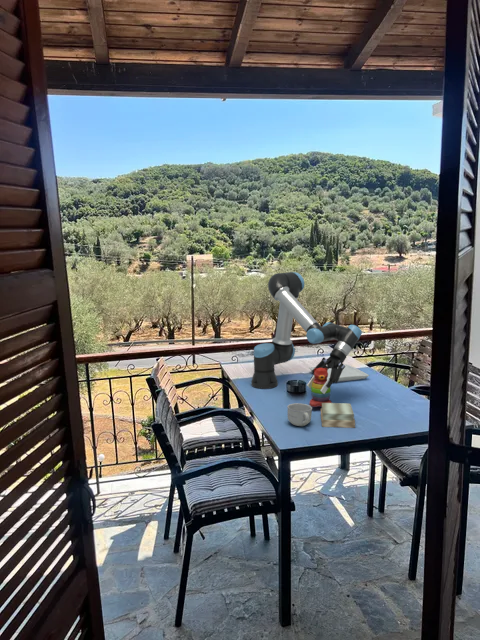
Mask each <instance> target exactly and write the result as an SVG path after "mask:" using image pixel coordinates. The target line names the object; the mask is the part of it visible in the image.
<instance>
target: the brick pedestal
mask: <svg viewBox="0 0 480 640" xmlns="http://www.w3.org/2000/svg"><path fill="white" fill-rule="evenodd" d="M351 404H352V403H346V402H344V403H343V402H342V403H340V402H339V403H337V402H332V403H322V406H321V408H320V422H321V427H323V428H345V429H346V428H351V429H356V420H355V413H354V410H353V407H352V405H351Z"/></svg>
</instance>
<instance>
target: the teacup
mask: <svg viewBox="0 0 480 640" xmlns="http://www.w3.org/2000/svg"><path fill="white" fill-rule="evenodd" d="M286 407H287V420H288V422H289V423H291V424H292V425H293V426H297V427H304V426H307V425H308V424H309V423H310V422H311V420H312V414H313V413H312V412H313V411H312V410H313V407H312V406H310V405H309V404H306V403H300V402H299V403H297V402H296V403H290V404H288V405H287V406H286Z"/></svg>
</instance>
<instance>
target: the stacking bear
mask: <svg viewBox="0 0 480 640" xmlns="http://www.w3.org/2000/svg"><path fill="white" fill-rule="evenodd" d="M327 371H328V369H327V368H315V369H314V377H315V379H314V381H313V382H312V386H311V388H310V393H311V399H310V400H309V403H308V405H309V406H311V407H312V408H315V407H322V403H333V402H332V401H331V399H330V396H331V394H332V392H331V387H330V388H328V389H327V391H326V392H325V394H323V393H322V392H321V391H320V390H321V389H322V387H323V386H324V384H325V383H326V381H327V377H328V372H327Z"/></svg>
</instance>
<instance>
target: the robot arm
mask: <svg viewBox="0 0 480 640" xmlns="http://www.w3.org/2000/svg"><path fill="white" fill-rule="evenodd" d="M267 289H268V291H269V293H270V295H271V297H272V298H273V299H274V300H275V301H277V302H279V307H278V314H277V322H276V323H277V324H276V328H275V329H276V330H275V337H274V338H272V342H271V343H270V342H265V343H260V344H257V345H256V346H254V348H253V375H252V378H251V381H250V382H251V383H250V386H252V387H253V388H256V389H261V390H263V389H264V390H267V389H268V390H269V389H274V388H276V387H278V384H279V382H278V378H277V375H276V373H275V366H276V365H278V364H284V363H285V364H286V363H287V362H290V361H291V360H293V358H294V357H295V354H296V348H295V347H294V344H293V340H292V339H291V334H292V330H293V329H292V327H293V319H294V320H295V321H296V322H297V323H298V325H299V326H300V327H301V328H302V329H303V330H304V331H305V332H306V333H305V334H306V335H305V337H306V339H307V341H308V342H309V343H310V344H313V345H315V344H321V343H322V342H327V341H332V340H335V341H337V343H336V344H335V346H334V347H333V349H332V350H331V352H330V353H329V357H328V358H325V357H322V358H321V360H320V362H318V363H317V365H316V366H314V367H315V368H327V369H329V368H332V369H331V374H330V378H329V380H330V381H329V380H327V381H326V383H325V384H324V386H323V387H322V389H321V390H320V391H321V392H322V393H323V394H325V392H326V391H327V389H328V388H331V387H332V385H333V383H335V384H338V383H339V382H338V380H339V378H340V375H341V373H342V371H343V369H344V368H345V363H344V362H345V360H346V359H347V357H348V356H349V354H350V353H351V351H352V350H353V348H354V347H355V346H356V344H357V342H358V341H359V340H360V337H361V336H362V334H363V331H362V329H361V328H360V327H358V326H357V325H355V324H350V325H348V326H347V327H345V326H342V325H339V324H336V323H334V322H330V321H329V322H328V321H327V322H325V323H324V324H323V325H322V326H321V324H320V323H319V322H318V321H317V320H316V319H315V318H314V317H313V316H312V315H311V314H310V312H309V311H308V309H306V308H305V307H304V306H303V304H302V303H301V302H300V301H299V300H298V299H299V297H300V293H301V292H302V291H303V290H304V289H305V280H304V277H303V276H302V275H301V274H300V273H299V272H296V271H290V272H277V273H275V274H273V275H271V276H270V278H269V280H268V283H267ZM327 366H328V367H327ZM315 368H314V369H315ZM337 368H338V369H337ZM314 369H313V370H312V371H311V373H312V375H311V377H310V378H309V379H310V380H309V382H307V384H306V386H307V387H308V388H309V389H311V386H312V382H313V381H314V379H315V377H314Z"/></svg>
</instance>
